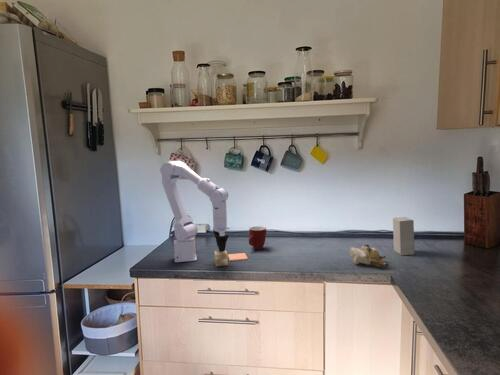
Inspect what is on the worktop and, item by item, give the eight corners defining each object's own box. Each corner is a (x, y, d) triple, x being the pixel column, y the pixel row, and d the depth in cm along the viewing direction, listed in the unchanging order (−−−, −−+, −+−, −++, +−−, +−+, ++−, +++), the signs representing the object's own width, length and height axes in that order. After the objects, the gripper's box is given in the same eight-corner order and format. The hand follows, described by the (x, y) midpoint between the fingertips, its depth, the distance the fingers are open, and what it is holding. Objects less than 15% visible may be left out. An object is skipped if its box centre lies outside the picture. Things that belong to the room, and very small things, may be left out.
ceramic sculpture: (349, 239, 154) (386, 243, 151) (348, 258, 155) (384, 262, 152) (350, 246, 144) (390, 250, 140) (349, 267, 145) (388, 271, 142)
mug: (258, 253, 165) (258, 232, 164) (243, 251, 169) (243, 230, 168) (269, 247, 174) (269, 227, 173) (254, 245, 178) (254, 225, 177)
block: (216, 266, 150) (215, 254, 149) (214, 262, 155) (214, 251, 154) (227, 265, 151) (227, 253, 150) (226, 261, 156) (226, 250, 155)
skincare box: (414, 255, 158) (416, 220, 156) (398, 255, 158) (399, 220, 156) (406, 249, 167) (408, 216, 165) (391, 249, 167) (392, 216, 165)
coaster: (229, 261, 155) (229, 259, 155) (227, 255, 163) (227, 254, 163) (248, 259, 157) (247, 258, 157) (244, 254, 165) (244, 252, 165)
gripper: (231, 220, 144) (232, 252, 146) (227, 213, 158) (228, 243, 160) (214, 221, 143) (215, 254, 144) (211, 214, 157) (212, 244, 158)
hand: (220, 248), depth 152 cm, fingers open, 7 cm apart
